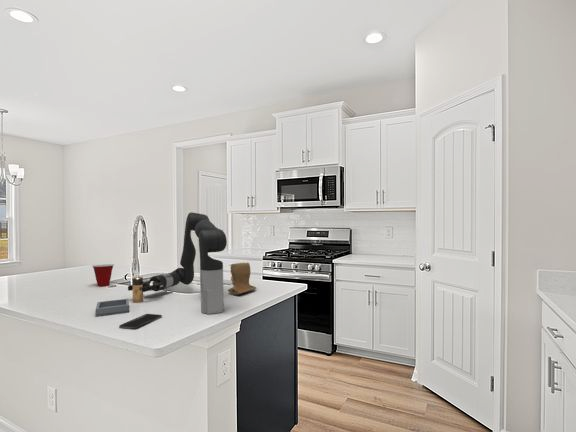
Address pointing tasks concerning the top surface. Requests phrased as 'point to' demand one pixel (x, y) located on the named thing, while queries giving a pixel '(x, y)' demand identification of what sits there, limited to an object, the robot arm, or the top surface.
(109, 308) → the tray
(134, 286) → the battery cell
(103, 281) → the plastic cup
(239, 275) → the brown boot
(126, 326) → the phone
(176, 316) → the top surface
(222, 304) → the robot arm
